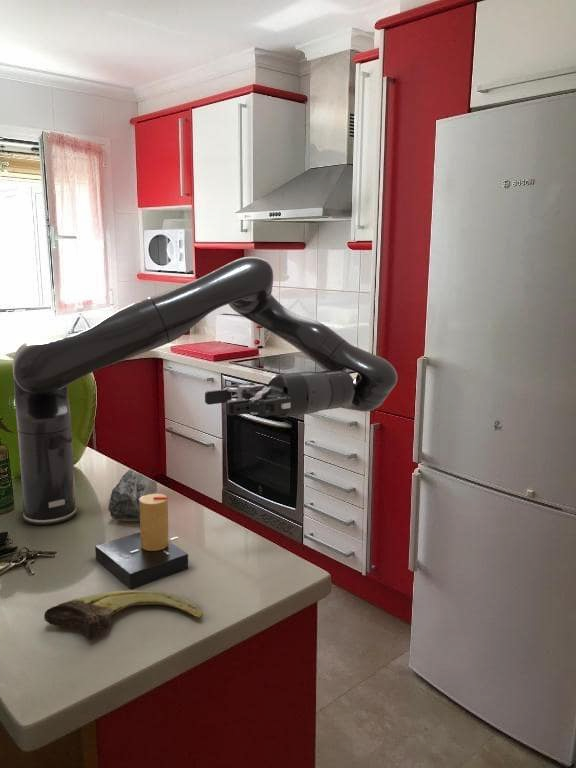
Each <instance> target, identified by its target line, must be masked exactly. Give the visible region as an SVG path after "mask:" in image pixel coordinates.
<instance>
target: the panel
mask: <svg viewBox="0 0 576 768" xmlns="http://www.w3.org/2000/svg"><path fill="white" fill-rule="evenodd" d="M178 539H179V537H178V536H175V537H172V538H170V539H169V544H168V546H167V547H166V548H164V549H162V550H158V551H147V550H144V549H143V548H142V547H141V531H139V532H136V533H133V534H129V535H126V536H122V537H119V538H117V539H114V540H110V541H106V542H103V543H99V544H96V545H95V546H94V547H95V548H94V549H95V551H94V552H95V561H97V562H98V563H99V564H100V565H102V566H103V567H104V568H105V569H106V570H107V571H109V572H110V573H111V574H112V575H113V576H114V577H115V578H117V580H119V581H120V582H122V584H124V585H125V586H126V587H127V588H128V589H130V590H134V589H136V588H138V587H141V586H144V585H146V584H150V583H153V582H155V581H158V580H160V579H163V578H166V577H168V576H171V575H174V574H177V573H179V572H182V571H185V570H188V569H189V553H187V552H185V551H184V550H182V549H181V548H180V547H178V546H177V545H175V544H173V543H172V542H171V541H174V540H178Z"/></svg>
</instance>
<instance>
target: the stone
mask: <svg viewBox="0 0 576 768" xmlns="http://www.w3.org/2000/svg"><path fill="white" fill-rule="evenodd" d="M157 493H158V483H157V482H156V481H155V480H153V479H150V478H149V477H147V476H145V475H143V474H140V473H138V471H137V472H136V471H134V470H132V469H128V470H127V471H126V472H125V473H124V474H123V475H122V477H121V478H120V480H119V482H118V483H117V484H116V485H115V487H113V489H112V491H111V494H110V498H109V501H108V506H107V509H108V511H109V513H110V514H109V515H110V517H111V519H115V520H119V521H122V522H128V521H129V522H140V503H139V500H140V498H141V497H142V496H145V495H148V494H157Z"/></svg>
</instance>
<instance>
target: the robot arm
mask: <svg viewBox="0 0 576 768" xmlns="http://www.w3.org/2000/svg"><path fill="white" fill-rule="evenodd" d="M273 285H274V270H273V268H272V266H271V265H270V263H269V262H268V261H267V260H265V259H263V258H261V257H258V256H245V257H241V258H238V259H235V260H233V261H231V262H228V263H227V264H224V265H222V266H221V267H219V268H217V269H215V270H213V271H212V272H210V273H208V274H205V275H204V276H201V277H199V278H198V279H194V280H192V281H189V282H187V283H184V284H182V285H179V286H176V287H175V288H172V289H170V290H167V291H165V292H162V293H159V294H156V295H153V296H150V297H148V298H145V299H142V300H140V301H137V302H134V303H132V304H130V305H128V306H125V307H123V308H121V309H119V310H117V311H116V312H114V313H112V314H111V315H109V316H107V317H106V318H104V319H102V320H100V321H99V322H98V323H96V324H95V325H93V326H91V327H90V328H88V329H86V330H83V331H81V332H78V333H75V334H73V335H69V336H66V337H63V338H59V339H55V340H52V341H51V340H48V339H42V338H37V339H31V340H28V341H26V342H25V343H23V344H22V345H20V346H19V347H18V349H17V350H16V351H15V353H14V355H13V358H12V375H13V377H12V378H13V386H14V388H13V389H14V390H13V391H14V399H15V403H14V405H15V418H16V429H17V439H18V452H19V464H20V465H19V467H20V478H21V479H20V480H21V493H22V505H23V506H22V507H23V508H22V509H23V513H22V515H23V520H24V522H26V523H28V524H31V525H37V526H47V525H49V526H50V525H56V524H59V523H63V522H66V521H68V520H71V519H72V518H73V517H75V516H76V515H77V511H78V510H77V505H76V503H77V502H76V485H75V484H76V483H75V469H74V468H75V467H74V451H73V433H72V416H71V415H72V414H71V408H70V407H71V406H70V399H69V385H71V384H73V383H75V382H77V381H78V380H80V379H82V378H84V377H87V376H88V375H89V374H91V373H94V372H96V371H98V370H100V369H103V368H104V367H108V366H111V365H113V364H117V363H120V362H123V361H126V360H129V359H131V358H134V357H137V356H140V355H142V354H145V353H148V352H150V351H154V350H155V349H159V348H160V347H163V346H165V345H167V344H170V343H172V342H174V341H176V340H178V339H180V338H181V337H182V336H183V335H185V334H186V333H188V332H189V331H190V330H191V329H193V328H194V327H195V326H196V325H198V323H199V322H201V321H202V320H203V319H204V318H205V317H206V316H208V315H209V314H211V313H212V312H214V311H216V310H217V309H220V308H222V307H224V306H227V305H228V306H229V307H230V308H231V309H232V310H233V311H234V312H235V313H237V314H239V315H240V316H242V317H244V318H245V319H247V320H249V321H251V322H252V323H254V324H256V325H258V326H260V327H262V328H263V329H265V330H267V332H270V333H272V334H273V335H275V336H277V337H278V338H280V339H281V340H283V341H285V342H287V343H288V344H290V345H291V346H293V347H294V348H295V349H297V350H298V351H300V352H301V353H302V354H303V355H305V356H306V357H307V358H309V359H310V360H311V361H313V362H314V363H315V364H316V365H318V366H319V367H320V368H321V369H322V370H323V371H322V370H321V371H312V370H311V371H309V370H308V371H299V372H298V371H297V372H289V373H288V372H287V373H279V374H278V373H277V374H274V375H272V377H271V378H270V380H269V382H268V384H267V385H266V386H265V384H261V383H259V384H255V383H254V382H248V383H247V382H246V383H237V384H225V385H223V389H215V390H207V391H205V392H204V403H205V404H206V405H217V404H224V403H226V415H228V416H230V417H232V416H239V415H247V414H249V415H252V416H255V415H258V417H260V418H264V417H270V416H277V417H278V418H286V417H295V416H301V415H309V414H314V413H318V412H320V411H327V410H335V409H345V410H352V411H356V412H372V411H374V410H376V409H379V407H380V406H381V405H383V403H384V402H385V401H386V399H387V398H388V396H389V395H390V394H391V392H392V390H393V389H394V388H395V387H396V385H397V382H398V373H397V370H396V369H395V367H394V365H392V364H391V362H390V361H388V360H387V359H385V358H383V357H381V356H379V355H376V354H374V353H371V352H369V351H367V350H364V349H362V348H360V347H357V346H355V345H353V344H351V343H350V342H348V341H347V340H346V339H344V338H343V337H342V336H341V335H339V334H338V333H337V332H335V330H333V329H331V328H330V327H329V326H327V325H325V324H323V323H321V322H319V321H318V320H314V319H311V318H308V317H304V316H301V315H299V314H296V313H294V312H293V311H290V310H289V309H287V308H286V307H285V306H284V305H282V304H281V302H279V301H278V300H277V299H276V298H275V297H274V296H273V295H272V293H273ZM347 370H349V371H352V372H355V373H357V374H356V377H354V379H353V377H352V375H351V374H350V373H349V372H348V371H347ZM233 392H234V393H235V394H232V393H233Z"/></svg>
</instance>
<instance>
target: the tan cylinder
mask: <svg viewBox="0 0 576 768" xmlns="http://www.w3.org/2000/svg"><path fill="white" fill-rule="evenodd" d="M139 503H140V521H139V522H140V523H139V525H140V526H139V527H140V528H139V529H140V531H139V532H141V547H142V548H143V549H144V550H147V551H158V550H162V549H164V548H166V547H167V546H168V544H169V542H170V539H169V505H168V504H169V502H168V496H167V495H165V494H162V493H156V494H148V495H145V496H142V497H141V498H140V500H139Z"/></svg>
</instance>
